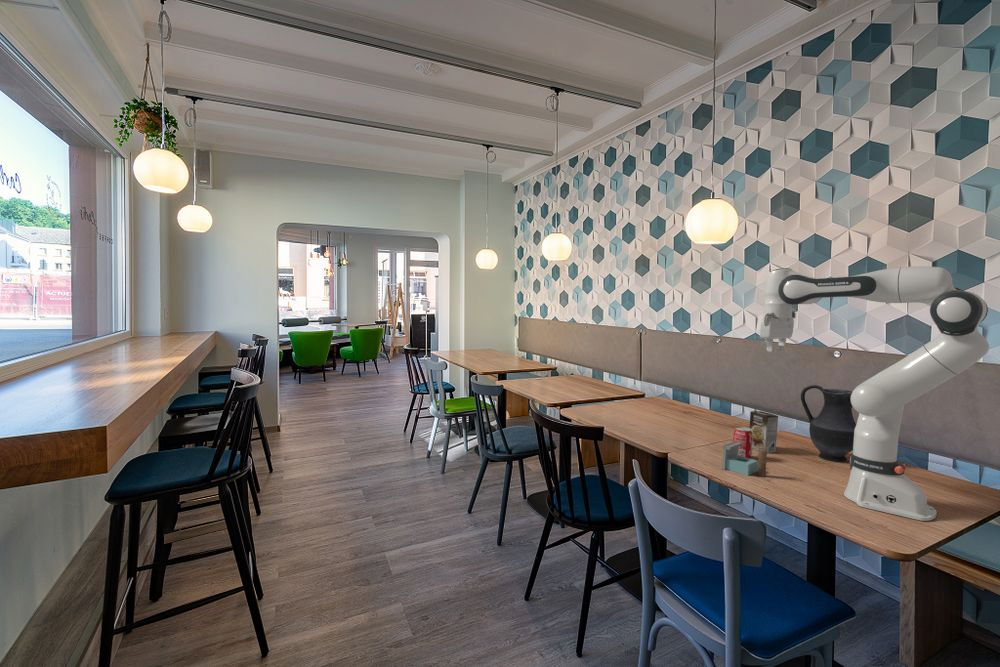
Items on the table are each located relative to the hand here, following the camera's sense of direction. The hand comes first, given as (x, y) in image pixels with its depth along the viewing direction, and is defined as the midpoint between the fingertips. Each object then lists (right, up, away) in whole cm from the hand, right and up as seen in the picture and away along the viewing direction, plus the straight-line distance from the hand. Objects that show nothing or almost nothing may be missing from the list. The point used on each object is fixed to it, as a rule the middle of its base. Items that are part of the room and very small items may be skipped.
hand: (775, 350), depth 172 cm
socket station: (-10, -45, +5) cm, 47 cm away
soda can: (-2, -45, +20) cm, 49 cm away
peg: (-6, -46, -1) cm, 46 cm away
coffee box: (+13, -45, +32) cm, 56 cm away
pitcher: (+35, -46, +23) cm, 62 cm away
